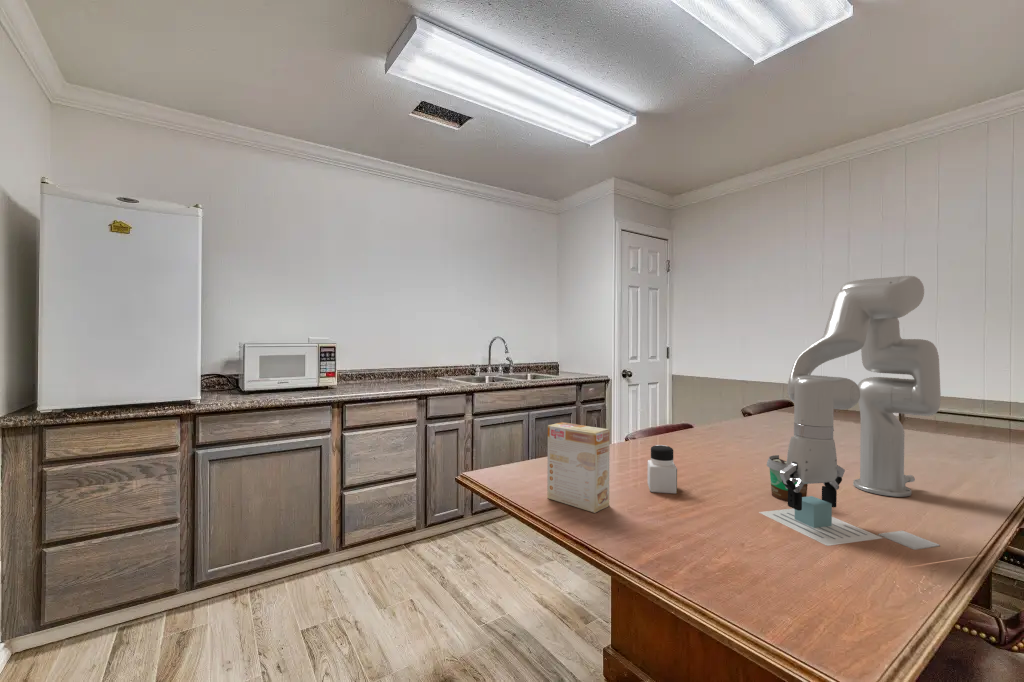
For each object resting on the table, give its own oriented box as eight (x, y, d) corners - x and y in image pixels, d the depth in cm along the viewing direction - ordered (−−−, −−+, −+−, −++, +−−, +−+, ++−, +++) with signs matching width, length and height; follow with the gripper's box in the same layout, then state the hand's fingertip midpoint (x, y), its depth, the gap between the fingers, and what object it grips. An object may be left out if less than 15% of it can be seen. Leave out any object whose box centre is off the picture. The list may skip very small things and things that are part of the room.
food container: (756, 490, 125) (756, 454, 124) (777, 490, 125) (777, 454, 125) (787, 507, 112) (787, 467, 112) (810, 506, 113) (810, 467, 113)
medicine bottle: (677, 494, 121) (677, 450, 121) (649, 492, 123) (650, 448, 123) (673, 485, 128) (673, 444, 128) (647, 484, 130) (647, 442, 130)
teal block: (811, 517, 106) (812, 496, 106) (831, 525, 101) (831, 503, 101) (794, 519, 104) (794, 497, 104) (813, 527, 99) (813, 505, 99)
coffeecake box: (610, 506, 113) (610, 428, 113) (594, 514, 108) (595, 433, 107) (562, 491, 123) (562, 421, 123) (546, 498, 118) (546, 424, 118)
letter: (808, 507, 112) (808, 506, 112) (883, 538, 95) (883, 537, 95) (758, 513, 108) (758, 512, 108) (826, 546, 91) (826, 545, 91)
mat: (902, 532, 98) (902, 530, 98) (940, 546, 91) (940, 544, 91) (878, 535, 96) (878, 533, 96) (914, 550, 89) (914, 548, 89)
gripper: (828, 428, 108) (826, 498, 108) (768, 430, 104) (767, 503, 104) (859, 434, 101) (857, 510, 101) (796, 436, 97) (795, 515, 97)
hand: (811, 506), depth 102 cm, fingers open, 9 cm apart
